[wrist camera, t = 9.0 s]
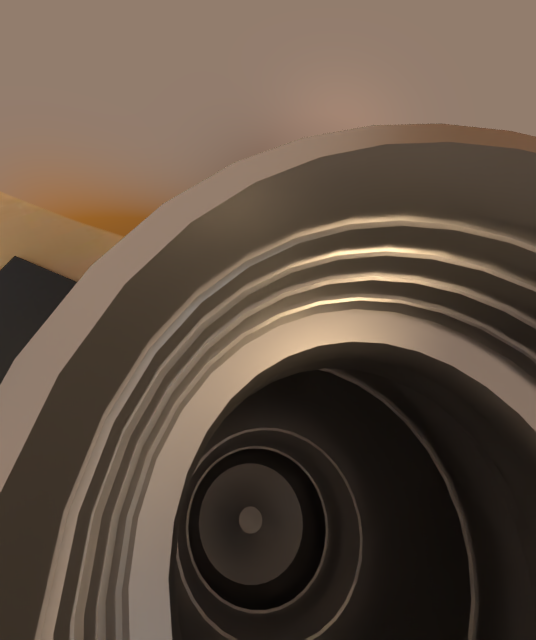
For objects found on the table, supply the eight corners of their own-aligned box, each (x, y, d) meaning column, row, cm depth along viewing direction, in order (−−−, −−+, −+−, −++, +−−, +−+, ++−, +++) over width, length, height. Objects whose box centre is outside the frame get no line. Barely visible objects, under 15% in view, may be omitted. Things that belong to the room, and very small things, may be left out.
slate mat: (-146, 424, 25) (-152, 423, 25) (17, 259, 33) (14, 255, 32) (79, 539, 23) (76, 540, 23) (197, 335, 31) (197, 332, 30)
